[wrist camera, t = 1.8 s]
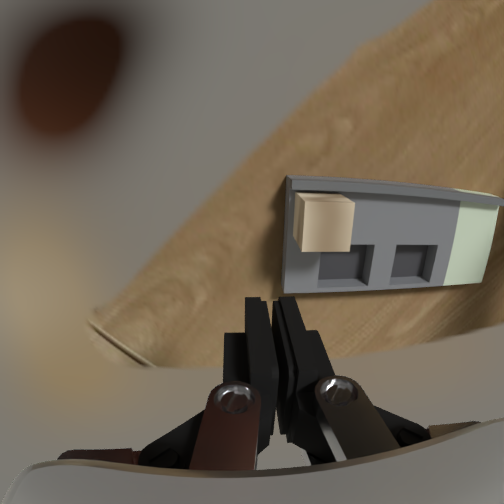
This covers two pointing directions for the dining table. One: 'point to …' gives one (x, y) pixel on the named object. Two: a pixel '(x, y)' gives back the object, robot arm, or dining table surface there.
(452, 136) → the dining table surface
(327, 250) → the ash cube
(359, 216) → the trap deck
